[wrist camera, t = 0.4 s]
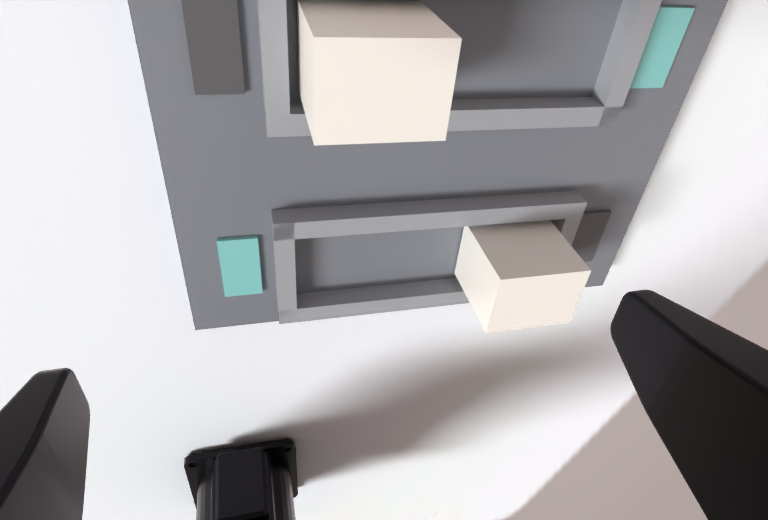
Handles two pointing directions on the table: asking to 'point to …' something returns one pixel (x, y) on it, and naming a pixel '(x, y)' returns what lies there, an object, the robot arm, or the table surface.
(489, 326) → the tab
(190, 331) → the table surface
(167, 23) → the switch board
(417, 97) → the tab
